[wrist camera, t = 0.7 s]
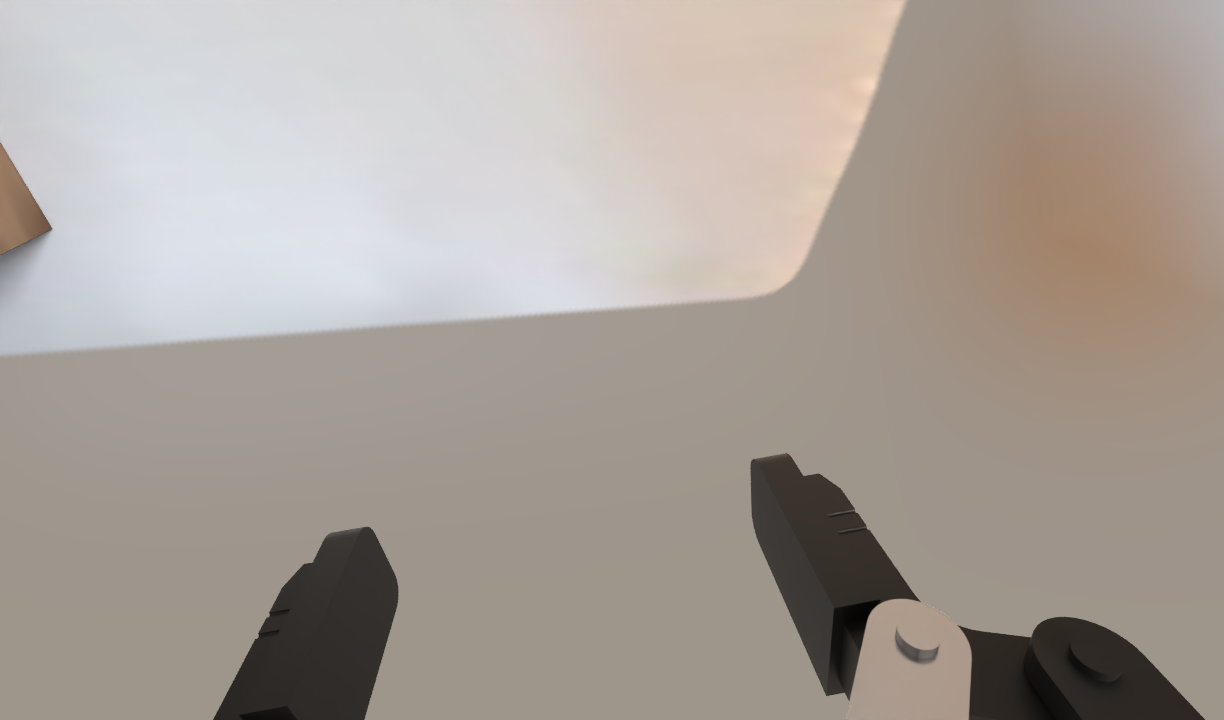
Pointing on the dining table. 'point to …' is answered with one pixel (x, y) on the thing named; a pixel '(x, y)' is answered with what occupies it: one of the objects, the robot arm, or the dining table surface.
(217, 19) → the dining table surface
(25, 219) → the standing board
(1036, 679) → the robot arm
